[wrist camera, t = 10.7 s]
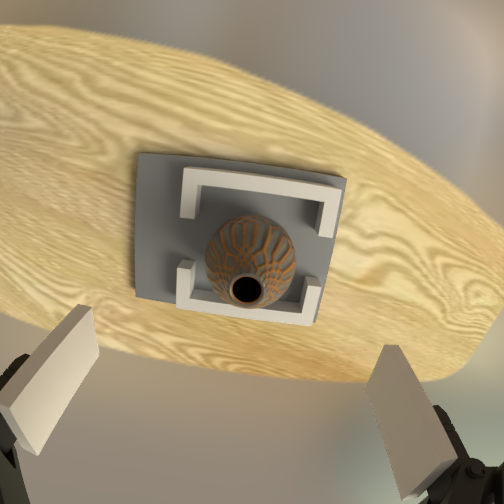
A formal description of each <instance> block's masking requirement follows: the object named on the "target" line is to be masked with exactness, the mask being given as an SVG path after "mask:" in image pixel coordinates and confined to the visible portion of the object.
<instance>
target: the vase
mask: <svg viewBox="0 0 504 504" xmlns="http://www.w3.org/2000/svg"><path fill="white" fill-rule="evenodd" d="M295 269H296V253H295V249H294V245H293V243H292V240H291V238H290V237H289V235H288V233H287V232H286V231H285V229H284V228H283V227H282V226H281V225H280V224H278V223H277V222H276V221H274V220H272V219H270V218H268V217H266V216H263V215H258V214H244V215H239V216H236V217H233V218H231V219H229V220H227V221H226V222H225V223H223V224H222V225H221V226H220V227H219V228H218V229H217V230H216V231H215V233H214V234H213V235H212V237H211V239H210V241H209V243H208V246H207V249H206V253H205V271H206V275H207V278H208V281H209V283H210V285H211V287H212V289H213V290H214V291H215V293H216V294H217V295H218V296H219V297H220V298H221V299H223V300H224V301H225V302H227V303H229V304H231V305H233V306H235V307H239V308H244V309H257V308H261V307H265V306H267V305H270V304H272V303H273V302H275V301H276V300H278V299H279V298H280V297H281V296H282V295H283V294H284V293H285V292H286V290H287V289H288V287H289V286H290V284H291V282H292V279H293V277H294V274H295Z"/></svg>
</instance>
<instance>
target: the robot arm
mask: <svg viewBox="0 0 504 504" xmlns="http://www.w3.org/2000/svg"><path fill="white" fill-rule="evenodd" d="M98 356H99V349H98V343H97V337H96V331H95V325H94V318H93V311H92V307H89V306H85V305H80V304H78V305H77V306H76V307H75V308H74V309H73V310H72V311H71V312H70V313H69V314H68V315H67V316H66V317H65V318H64V319H63V320H62V321H61V322H60V323H59V325H58V326H57V327H56V328H55V329H54V330H53V331H52V332H51V333H50V334H49V335H48V336H47V338H46V339H45V340H44V341H43V342H42V343H41V344H40V345H39V346H38V348H37V349H36V350H35V351H34V352H33V353H32V354H31V355H28V354H24V355H22V356H20V357H18V358H16V359H15V360H14V361H13V362H12V364H11V365H10V366H9V367H8V369H6V370H5V371H4V373H3V375H1V376H0V504H30V501H29V498H28V495H27V492H26V488H25V485H24V481H23V477H22V474H21V470H20V466H19V461H18V457H17V452H16V449H15V446H14V443H15V441H16V440H18V442H19V443H20V445H21V446H22V448H24V449H25V450H27V451H29V452H31V453H33V454H35V455H37V456H38V455H39V453H40V451H41V449H42V448H43V446H44V444H45V442H46V440H47V439H48V437H49V435H50V434H51V432H52V430H53V428H54V427H55V425H56V423H57V422H58V420H59V418H60V417H61V415H62V413H63V412H64V410H65V408H66V407H67V405H68V403H69V402H70V400H71V399H72V397H73V395H74V394H75V392H76V390H77V389H78V387H79V386H80V384H81V383H82V381H83V379H84V378H85V376H86V375H87V373H88V372H89V370H90V368H91V367H92V365H93V364H94V362H95V361H96V359H97V358H98ZM365 390H366V392H367V395H368V398H369V401H370V404H371V407H372V409H373V412H374V415H375V418H376V421H377V424H378V427H379V430H380V433H381V436H382V439H383V442H384V445H385V448H386V451H387V454H388V457H389V461H390V464H391V467H392V470H393V473H394V476H395V480H396V483H397V486H398V490H399V493H400V497H401V500H402V501H403V500H407V499H412V498H416V497H419V496H420V495H421V494H422V493H423V492H424V491H425V490H426V489H427V492H428V496H427V497H426V498H425V499H424V500H423V501H421V502H420V503H419V504H504V462H503V463H502V464H501V465H500V466H499V467H486V466H485V465H484V464H483V462H482V461H480V460H478V459H475V458H470V457H469V455H468V454H467V451H466V449H465V447H464V445H463V443H462V442H461V439H460V437H459V435H458V434H457V432H456V431H455V428H454V426H453V424H451V420H450V418H449V417H448V415H447V413H446V412H445V411H444V410H443V409H442V408H441V407H440V406H439V405H434V406H432V404H431V403H430V401H429V399H428V397H427V395H426V393H425V392H424V389H423V388H422V386H421V384H420V382H419V380H418V378H417V377H416V375H415V373H414V371H413V370H412V368H411V366H410V364H409V362H408V361H407V359H406V357H405V356H404V354H403V352H402V350H401V349H400V347H399V345H384V347H383V349H382V351H381V354H380V356H379V359H378V361H377V363H376V365H375V368H374V370H373V372H372V374H371V377H370V379H369V381H368V383H367V385H366V388H365Z"/></svg>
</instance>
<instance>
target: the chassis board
mask: <svg viewBox="0 0 504 504" xmlns="http://www.w3.org/2000/svg"><path fill="white" fill-rule="evenodd" d="M346 181H347V179H346V178H344V177H339V176H334V175H328V174H323V173H317V172H311V171H305V170H299V169H293V168H286V167H280V166H273V165H266V164H258V163H251V162H243V161H234V160H225V159H216V158H206V157H195V156H184V155H171V154H156V153H138V166H137V182H136V202H135V291H136V297H139V298H145V299H150V300H156V301H161V302H167V303H173V304H176V308H180V309H186V310H192V311H198V312H204V313H211V314H218V315H224V316H231V317H239V318H246V319H254V320H262V321H270V322H278V323H287V324H296V325H306V326H312V323H313V322H314V323H315V322H316V318H317V314H318V310H319V306H320V302H321V298H322V294H323V290H324V286H325V282H326V278H327V274H328V269H329V265H330V261H331V256H332V252H333V247H334V242H335V238H336V233H337V228H338V223H339V218H340V213H341V208H342V203H343V197H344V192H345V186H346ZM244 214H258V215H263V216H266V217H268V218H270V219H272V220H274V221H276V222H277V223H278V224H280V225H281V226H282V227H283V228H284V229H285V231H286V232H287V233H288V235H289V237H290V238H291V240H292V243H293V245H294V249H295V253H296V269H295V274H294V277H293V279H292V282H291V284H290V286H289V287H288V289H287V290H286V292H285V293H284V294H283V295H282V296H281V297H280V298H279V299H278V300H276V301H275V302H273V303H272V304H270V305H267V306H265V307H261V308H257V309H244V308H239V307H235V306H233V305H231V304H229V303H227V302H225V301H224V300H223V299H221V298H220V297H219V296H218V295H217V294H216V293H215V291H214V290H213V289H212V287H211V285H210V283H209V281H208V278H207V275H206V271H205V253H206V249H207V246H208V243H209V241H210V239H211V237H212V235H213V234H214V233H215V231H216V230H217V229H218V228H219V227H220V226H221V225H222V224H223V223H225V222H226V221H227V220H229V219H231V218H233V217H236V216H239V215H244Z"/></svg>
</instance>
